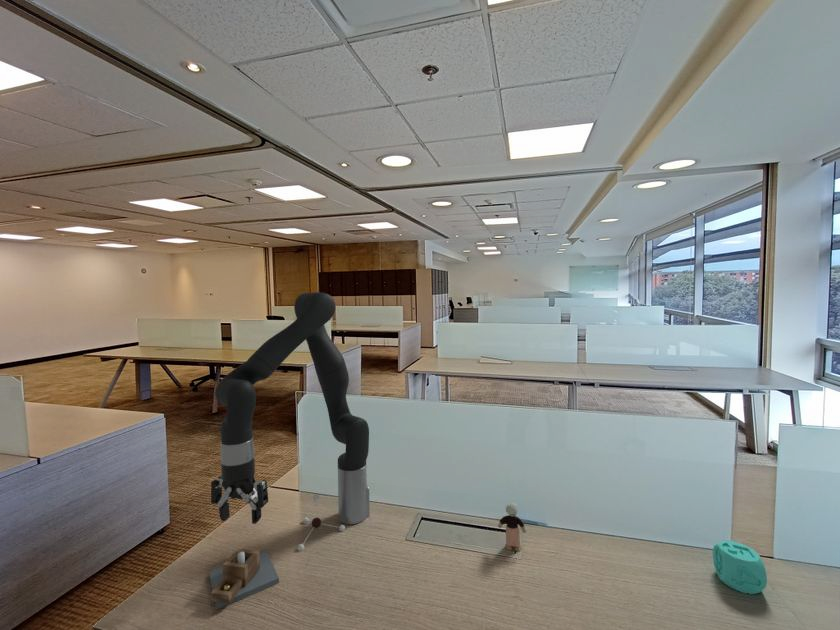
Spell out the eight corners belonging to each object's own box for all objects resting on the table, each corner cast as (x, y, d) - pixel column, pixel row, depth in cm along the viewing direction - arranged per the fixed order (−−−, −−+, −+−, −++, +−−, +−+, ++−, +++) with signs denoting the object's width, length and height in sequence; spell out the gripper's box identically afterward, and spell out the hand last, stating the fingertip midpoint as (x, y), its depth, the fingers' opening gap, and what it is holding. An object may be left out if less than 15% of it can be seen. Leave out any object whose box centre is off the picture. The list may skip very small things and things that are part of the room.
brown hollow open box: (259, 569, 96) (259, 550, 96) (231, 603, 85) (231, 582, 85) (239, 567, 97) (238, 548, 97) (208, 600, 86) (207, 580, 86)
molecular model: (297, 553, 105) (296, 509, 104) (303, 522, 119) (302, 484, 119) (345, 546, 107) (344, 504, 107) (345, 516, 122) (344, 479, 121)
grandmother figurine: (524, 543, 107) (524, 500, 107) (526, 552, 103) (526, 508, 103) (497, 541, 108) (497, 499, 107) (498, 550, 104) (498, 506, 103)
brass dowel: (229, 591, 89) (229, 583, 89) (230, 594, 88) (230, 586, 88) (223, 593, 88) (223, 585, 88) (224, 596, 87) (224, 588, 87)
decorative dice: (766, 598, 87) (767, 565, 86) (725, 589, 89) (726, 557, 89) (750, 574, 94) (751, 544, 94) (712, 567, 97) (712, 537, 97)
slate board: (266, 554, 104) (265, 529, 103) (279, 582, 93) (278, 554, 93) (209, 576, 96) (208, 549, 95) (216, 610, 85) (215, 579, 85)
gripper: (272, 452, 95) (274, 514, 96) (222, 450, 97) (225, 510, 98) (254, 466, 87) (257, 532, 88) (201, 462, 90) (204, 527, 91)
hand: (240, 520), depth 93 cm, fingers open, 8 cm apart
